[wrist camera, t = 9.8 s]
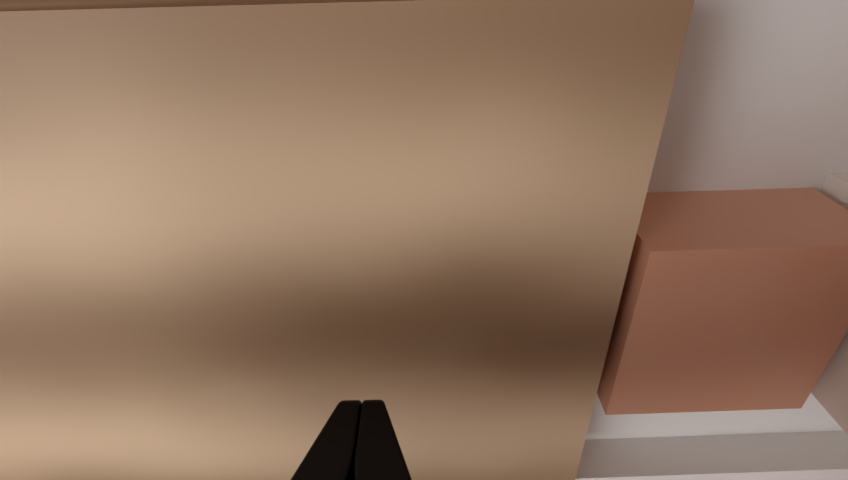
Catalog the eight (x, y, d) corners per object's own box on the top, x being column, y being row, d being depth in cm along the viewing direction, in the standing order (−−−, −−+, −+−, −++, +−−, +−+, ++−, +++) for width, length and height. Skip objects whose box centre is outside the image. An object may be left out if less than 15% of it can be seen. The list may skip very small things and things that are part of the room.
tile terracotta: (745, 338, 15) (801, 408, 13) (577, 344, 15) (605, 415, 12) (813, 187, 12) (899, 244, 10) (607, 193, 12) (650, 251, 10)
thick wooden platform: (545, 422, 17) (568, 506, 15) (91, 438, 17) (36, 526, 15) (623, -25, 10) (696, -7, 7) (-181, -4, 10) (-386, 22, 7)
